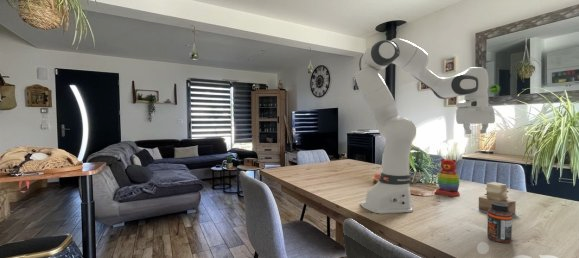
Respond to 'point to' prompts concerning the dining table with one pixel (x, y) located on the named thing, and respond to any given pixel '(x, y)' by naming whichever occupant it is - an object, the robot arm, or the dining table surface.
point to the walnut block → (487, 203)
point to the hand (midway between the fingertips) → (475, 133)
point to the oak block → (497, 191)
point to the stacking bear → (448, 179)
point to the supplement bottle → (499, 223)
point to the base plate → (487, 212)
